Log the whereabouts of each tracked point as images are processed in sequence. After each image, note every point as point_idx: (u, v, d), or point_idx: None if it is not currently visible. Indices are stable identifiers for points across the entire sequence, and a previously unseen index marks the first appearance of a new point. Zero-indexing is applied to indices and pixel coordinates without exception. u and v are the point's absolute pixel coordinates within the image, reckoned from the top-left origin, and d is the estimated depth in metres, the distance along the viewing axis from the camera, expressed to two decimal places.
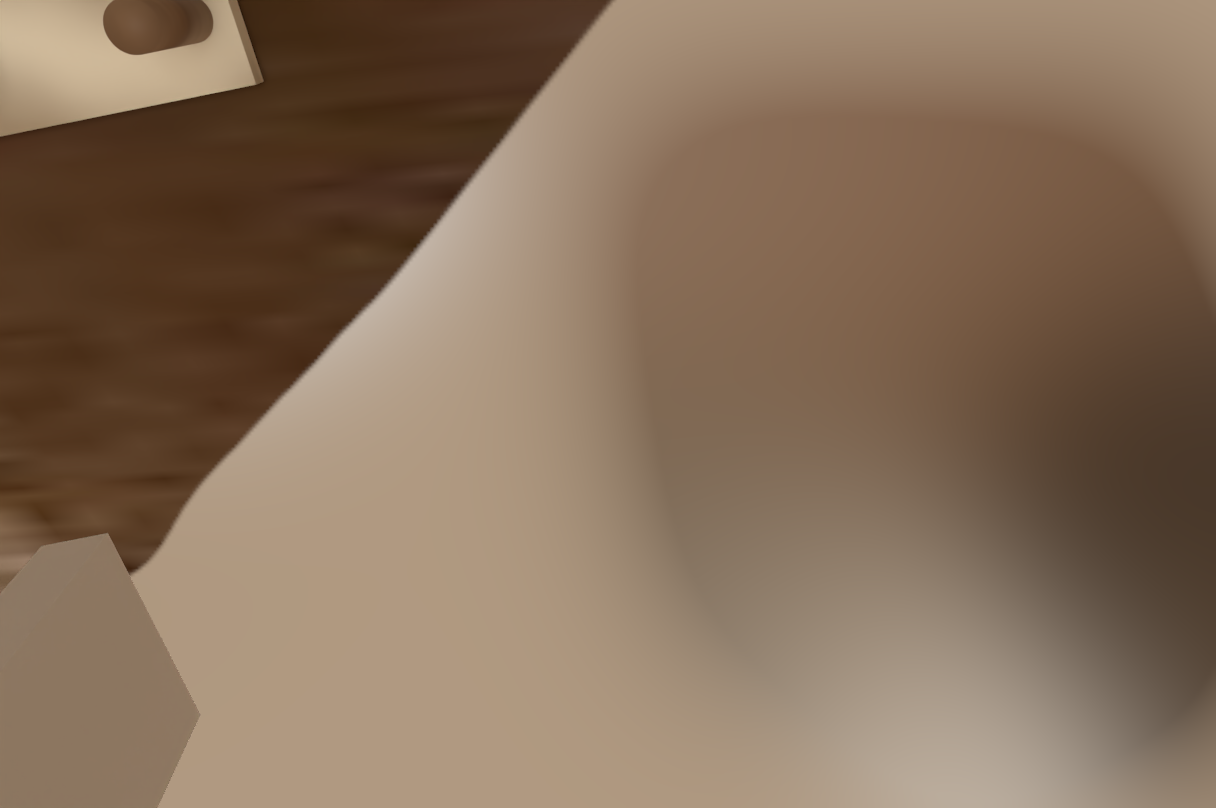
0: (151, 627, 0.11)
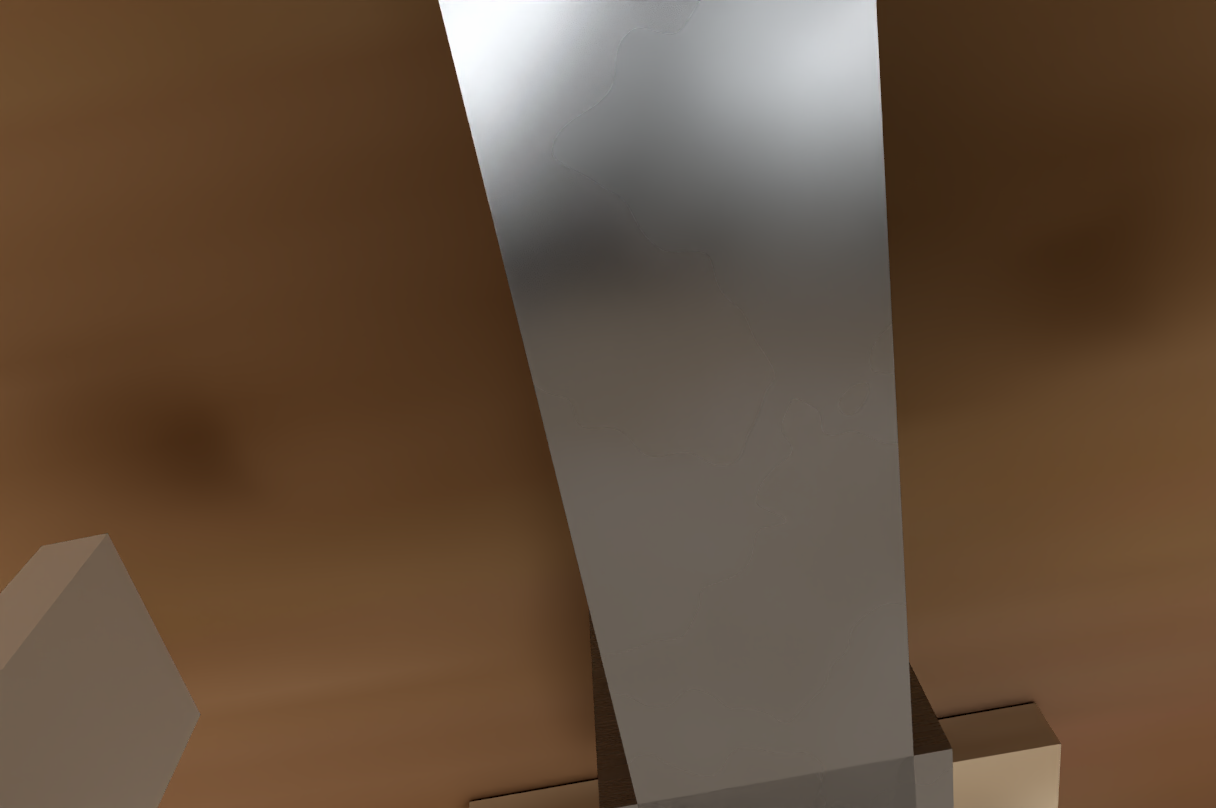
0: (151, 628, 0.11)
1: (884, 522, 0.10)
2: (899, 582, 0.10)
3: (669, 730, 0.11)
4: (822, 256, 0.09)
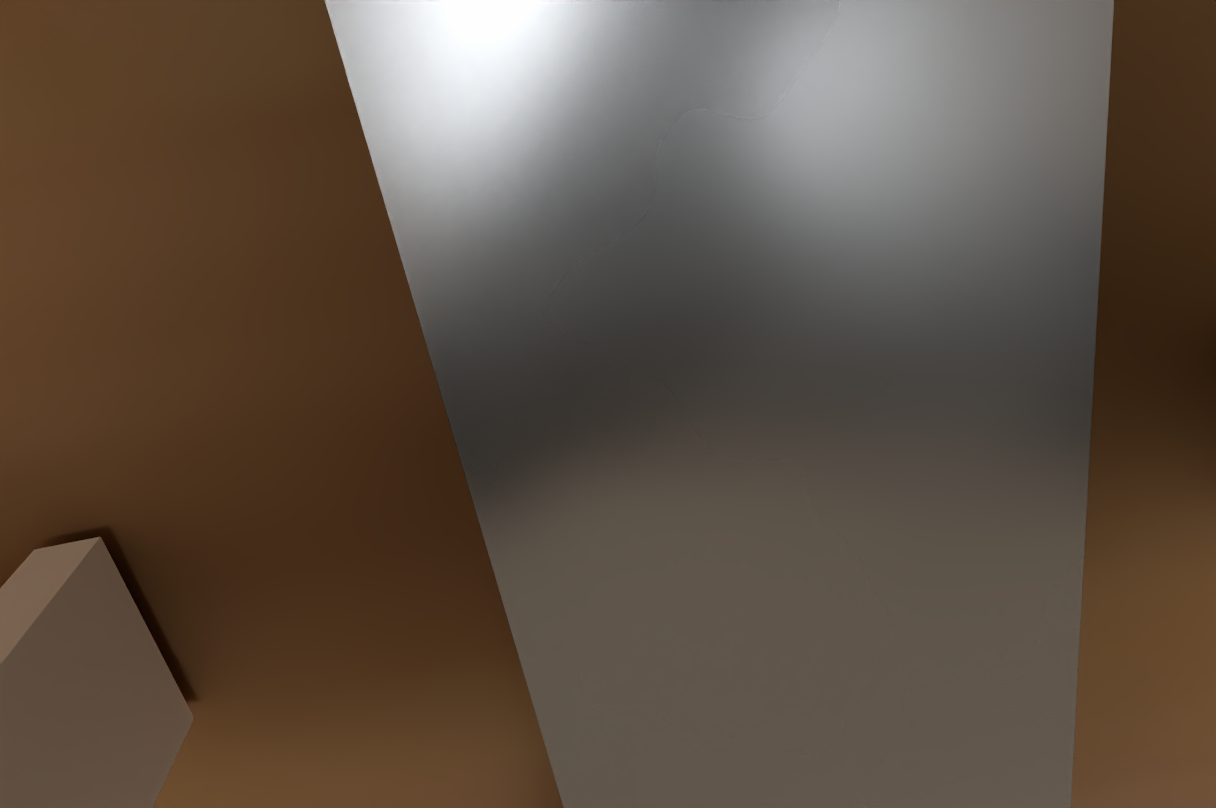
0: (144, 630, 0.11)
1: None
2: None
3: None
4: (981, 465, 0.05)
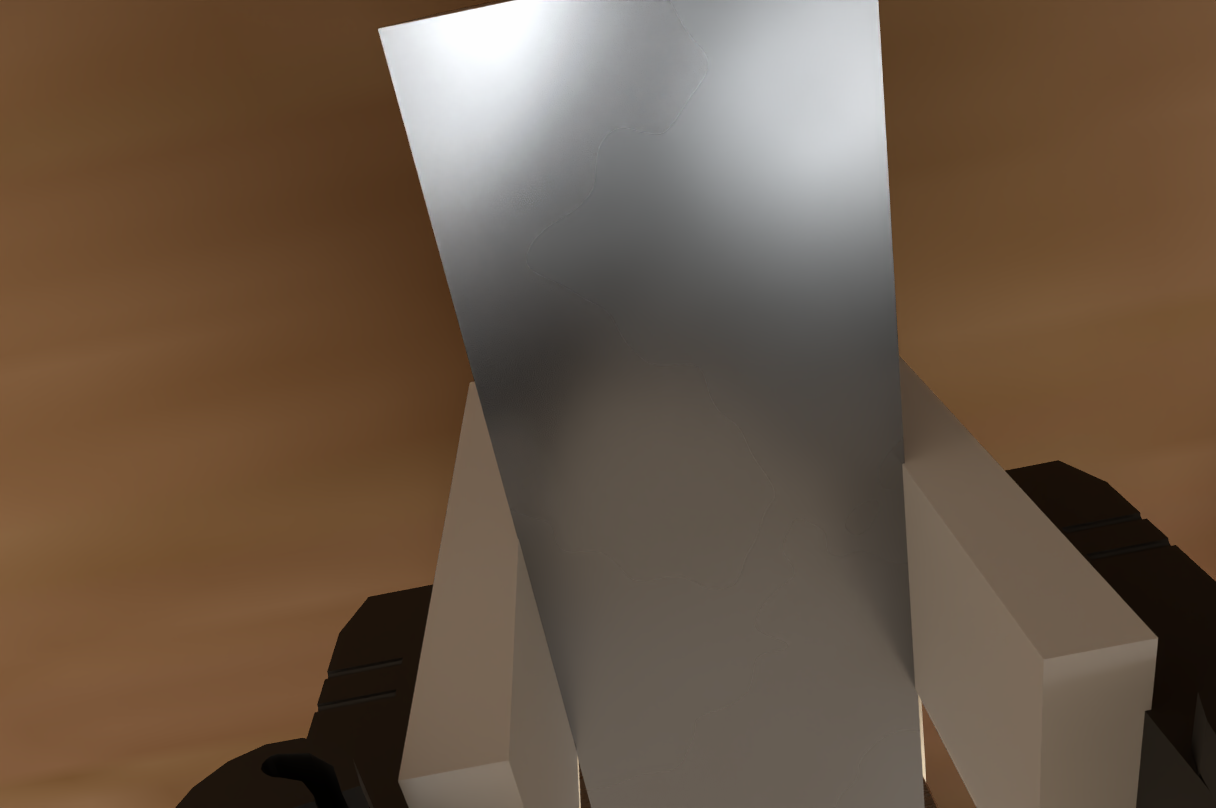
0: None
1: (895, 646, 0.09)
2: (913, 708, 0.10)
3: None
4: (826, 368, 0.08)
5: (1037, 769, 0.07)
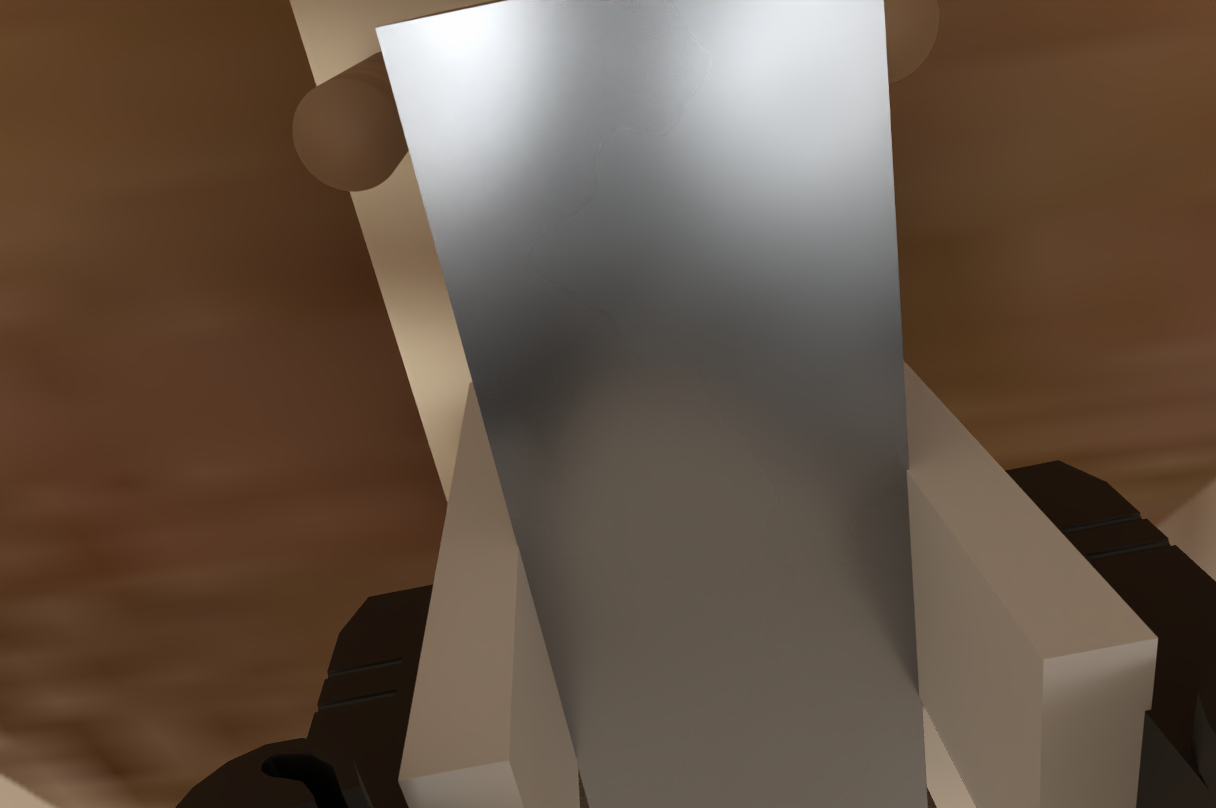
0: None
1: (900, 652, 0.09)
2: (917, 714, 0.09)
3: None
4: (830, 372, 0.08)
5: (1037, 769, 0.07)
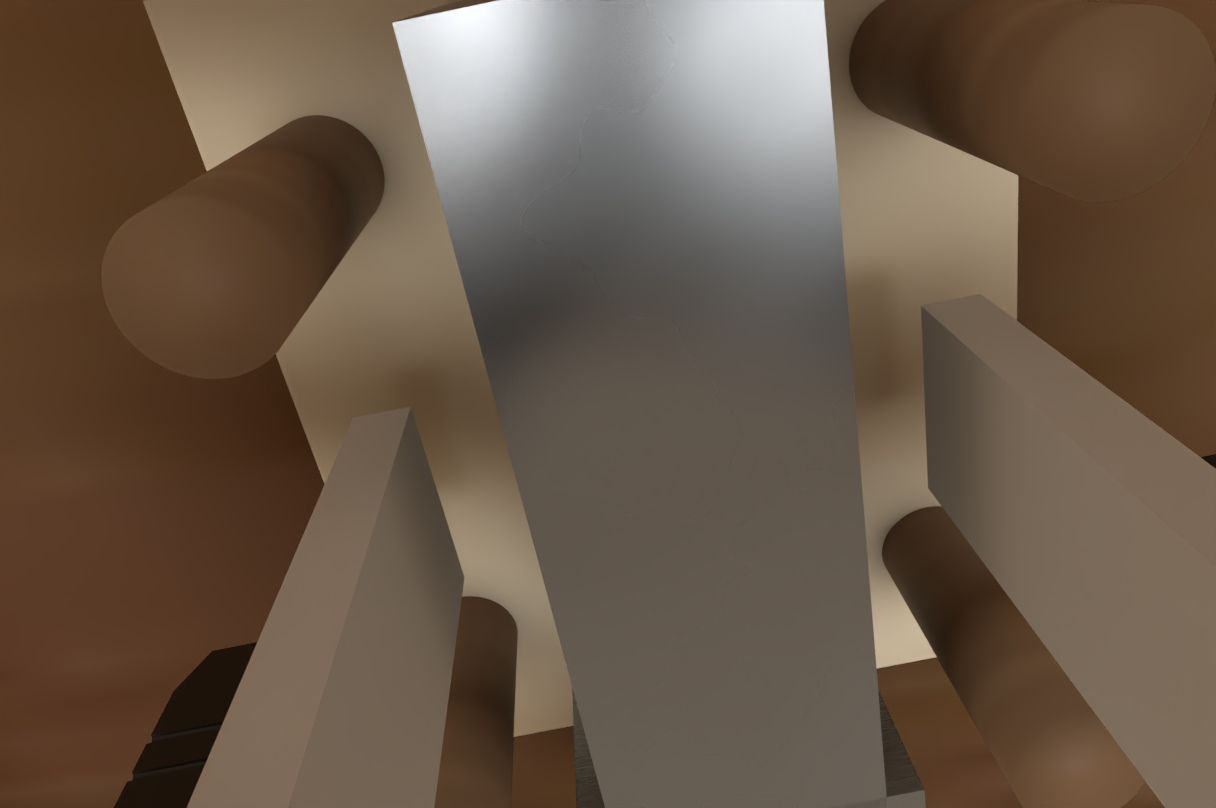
0: (434, 495, 0.12)
1: (851, 572, 0.10)
2: (868, 629, 0.11)
3: (646, 775, 0.12)
4: (784, 321, 0.09)
5: None
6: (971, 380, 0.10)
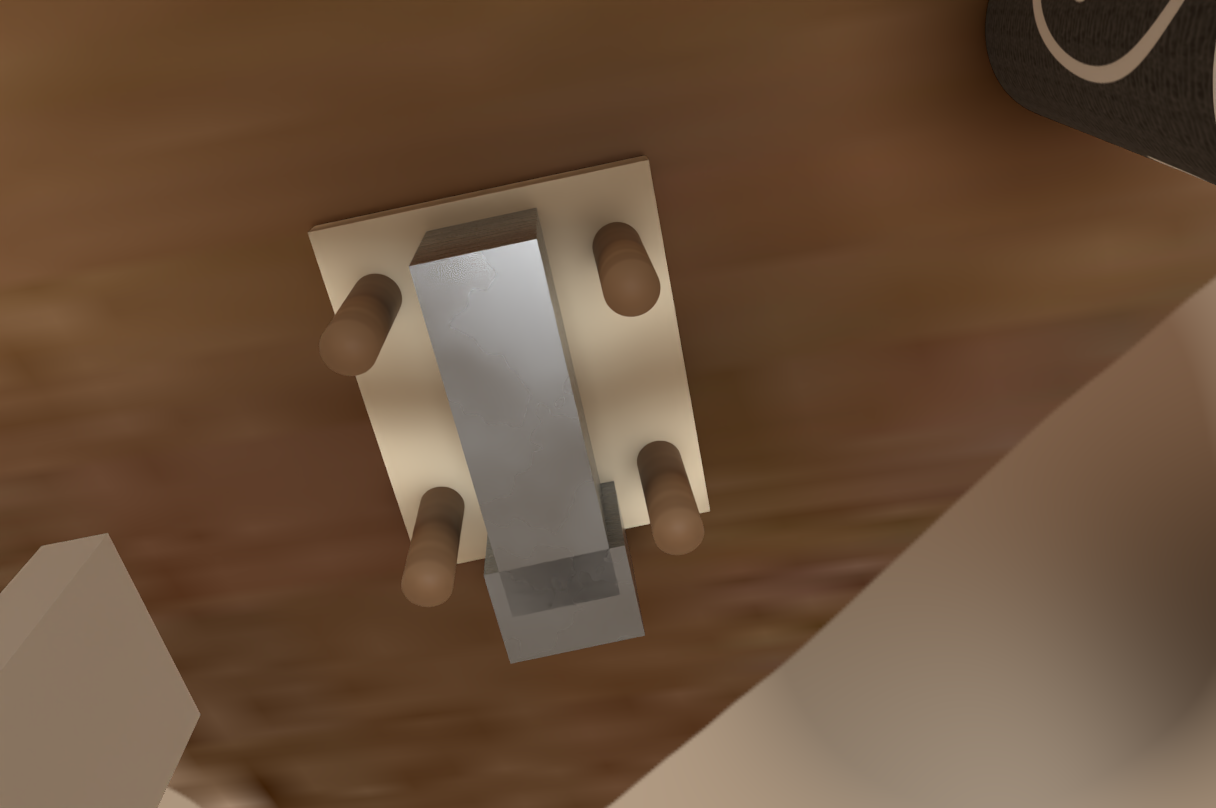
0: (152, 628, 0.11)
1: (579, 448, 0.28)
2: (589, 472, 0.28)
3: (508, 537, 0.29)
4: (541, 355, 0.26)
5: None
6: None
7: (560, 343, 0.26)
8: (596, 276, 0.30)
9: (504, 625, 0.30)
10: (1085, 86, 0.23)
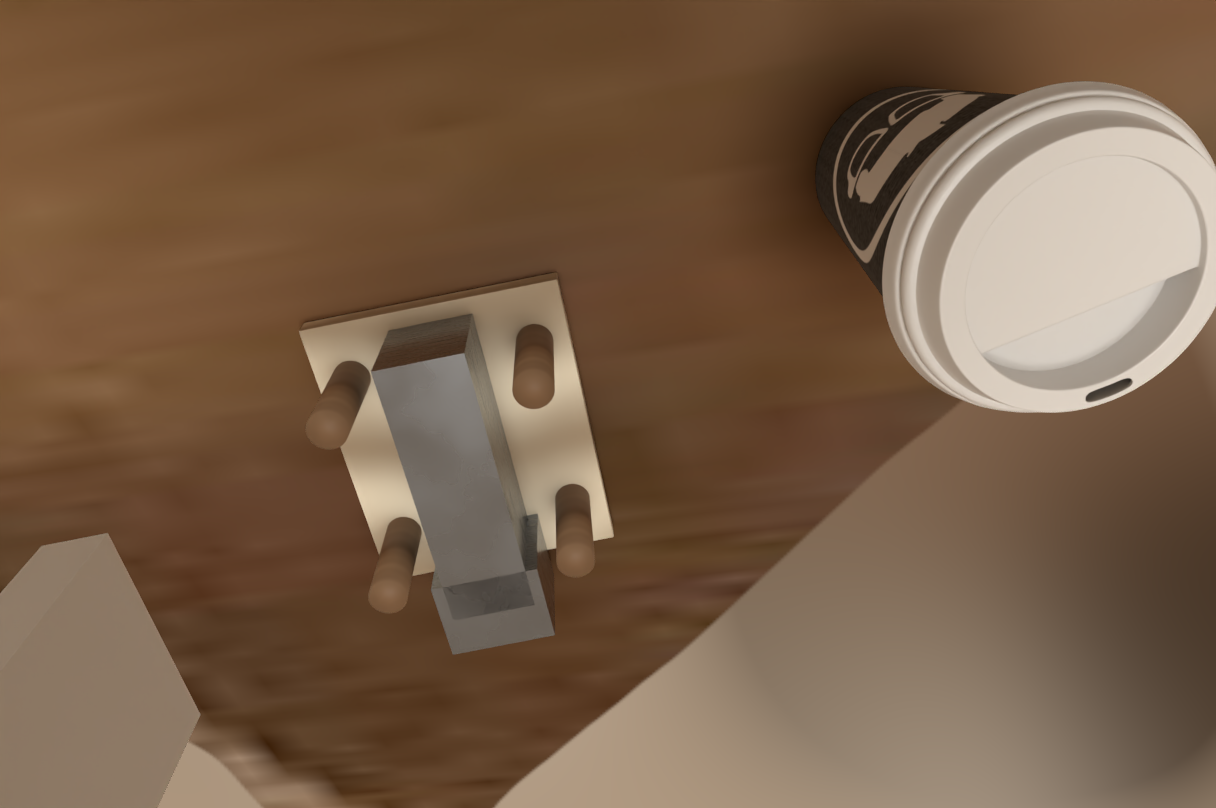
0: (151, 627, 0.11)
1: (500, 499, 0.37)
2: (508, 516, 0.38)
3: (449, 562, 0.38)
4: (469, 433, 0.36)
5: None
6: None
7: (483, 425, 0.36)
8: None
9: (447, 626, 0.40)
10: (856, 255, 0.33)
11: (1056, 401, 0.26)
